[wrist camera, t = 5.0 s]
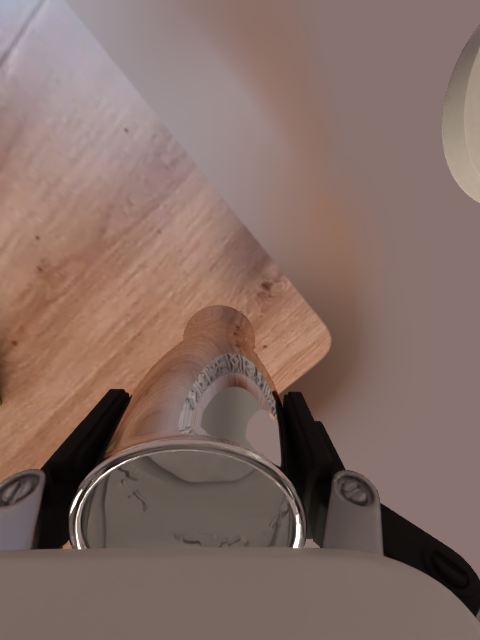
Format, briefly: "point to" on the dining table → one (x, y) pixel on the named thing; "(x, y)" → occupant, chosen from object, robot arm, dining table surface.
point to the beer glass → (196, 453)
